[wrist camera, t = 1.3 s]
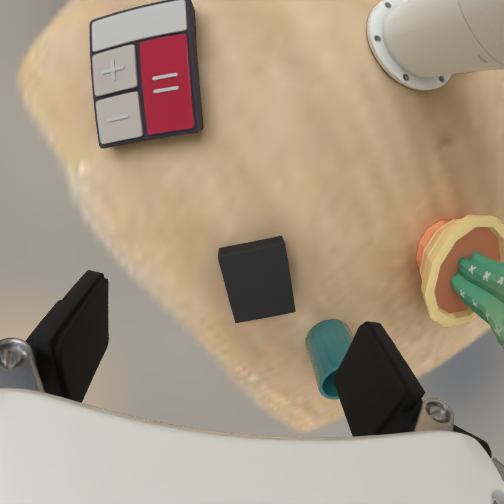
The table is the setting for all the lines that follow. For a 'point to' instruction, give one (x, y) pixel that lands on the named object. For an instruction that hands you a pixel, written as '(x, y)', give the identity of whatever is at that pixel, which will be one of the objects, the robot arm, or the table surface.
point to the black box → (257, 279)
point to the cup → (328, 353)
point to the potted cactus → (464, 271)
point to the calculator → (145, 73)
